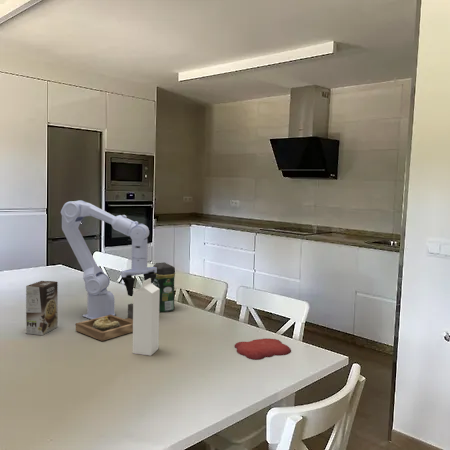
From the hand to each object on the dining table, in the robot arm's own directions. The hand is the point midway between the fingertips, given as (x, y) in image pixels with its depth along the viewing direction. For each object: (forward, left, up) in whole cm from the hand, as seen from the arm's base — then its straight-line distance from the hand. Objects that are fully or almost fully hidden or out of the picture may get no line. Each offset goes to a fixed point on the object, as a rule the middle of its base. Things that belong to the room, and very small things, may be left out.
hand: (139, 294), depth 172 cm
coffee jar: (-15, -3, -10) cm, 18 cm away
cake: (+16, +2, -10) cm, 19 cm away
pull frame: (+14, +3, -9) cm, 17 cm away
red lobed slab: (-6, +51, -10) cm, 52 cm away
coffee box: (+31, -13, -10) cm, 35 cm away
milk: (+20, +26, -10) cm, 34 cm away
